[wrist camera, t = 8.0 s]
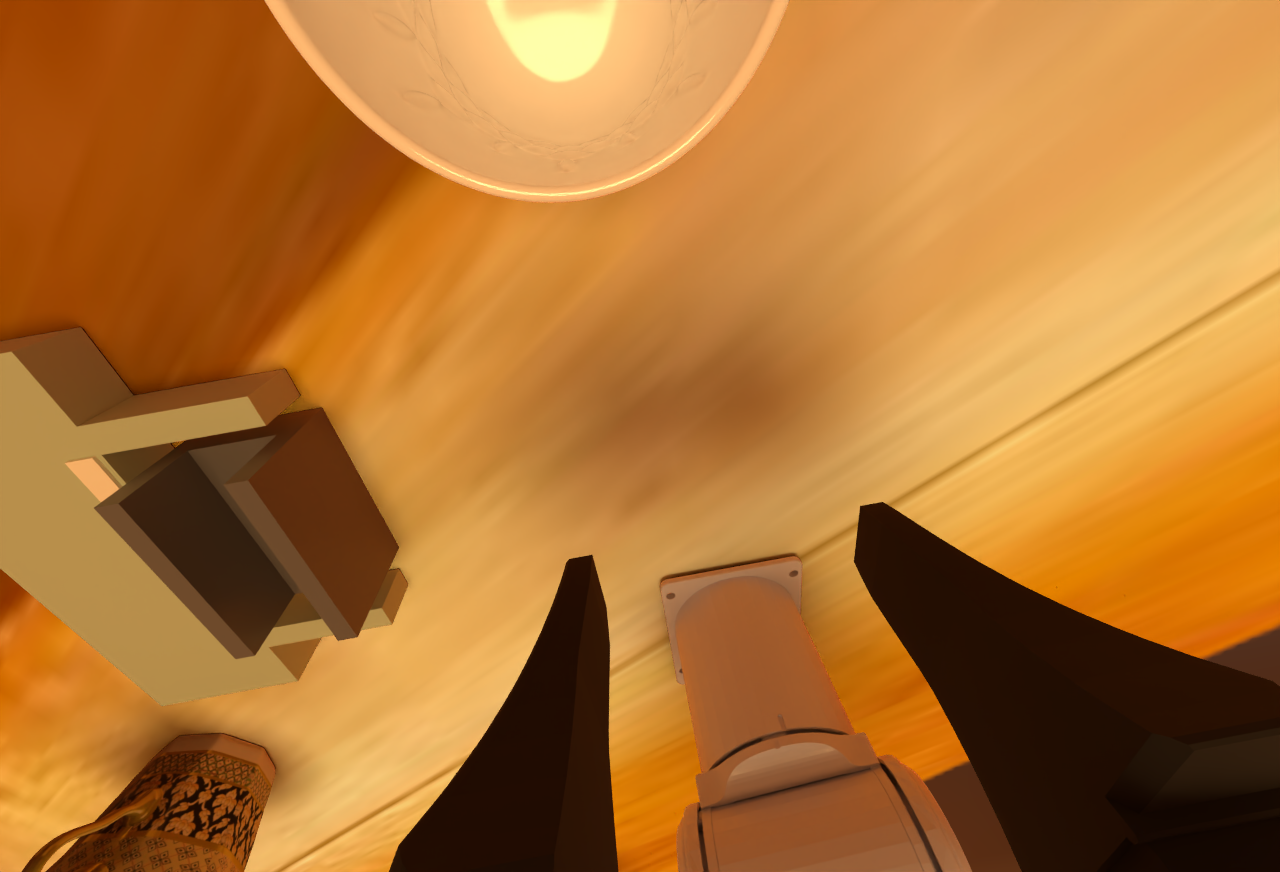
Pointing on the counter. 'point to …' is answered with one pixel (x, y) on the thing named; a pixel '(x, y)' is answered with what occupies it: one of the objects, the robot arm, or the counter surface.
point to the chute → (259, 529)
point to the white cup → (536, 82)
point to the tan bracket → (91, 549)
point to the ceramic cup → (176, 813)
